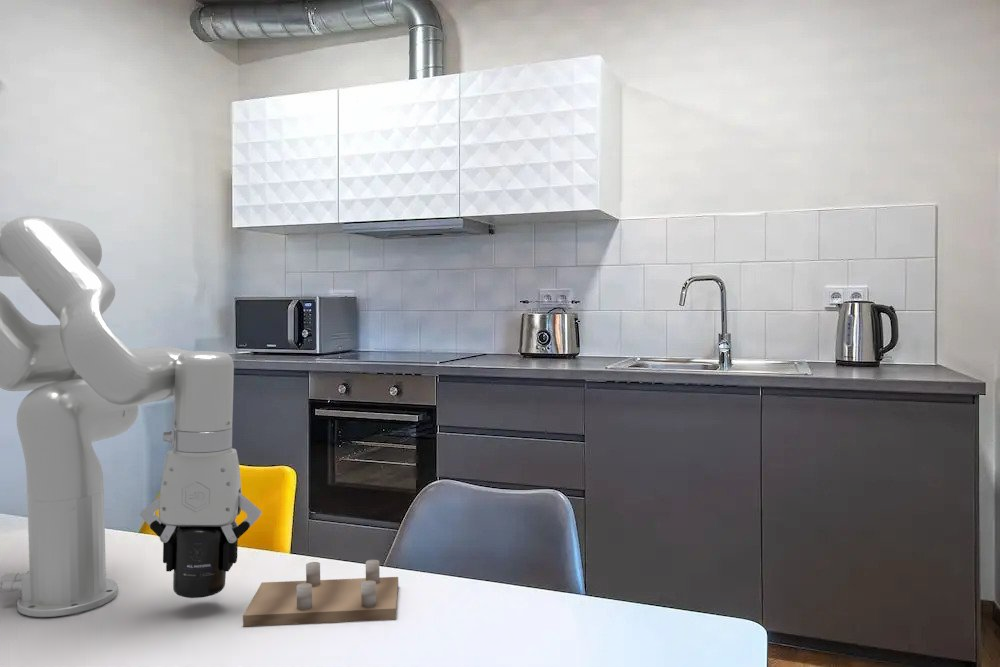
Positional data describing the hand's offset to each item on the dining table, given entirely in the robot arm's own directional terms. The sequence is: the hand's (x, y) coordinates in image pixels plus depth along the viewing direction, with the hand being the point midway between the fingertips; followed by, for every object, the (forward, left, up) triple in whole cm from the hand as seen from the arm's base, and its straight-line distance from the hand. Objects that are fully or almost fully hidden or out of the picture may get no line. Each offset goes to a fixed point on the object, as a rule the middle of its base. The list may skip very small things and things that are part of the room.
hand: (200, 567), depth 105 cm
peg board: (+17, 0, -6) cm, 18 cm away
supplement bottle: (0, 0, -3) cm, 3 cm away
